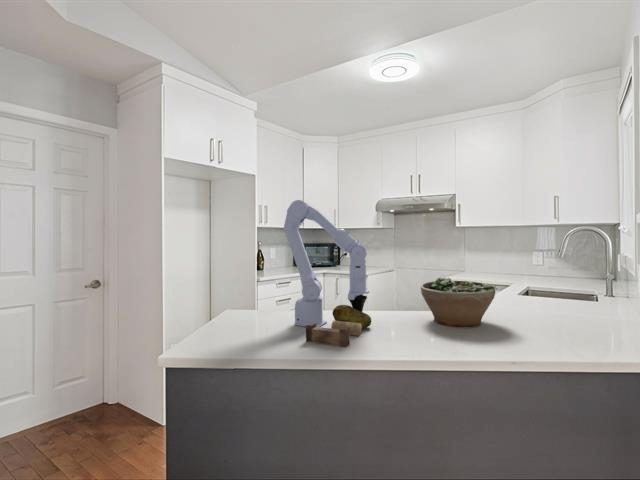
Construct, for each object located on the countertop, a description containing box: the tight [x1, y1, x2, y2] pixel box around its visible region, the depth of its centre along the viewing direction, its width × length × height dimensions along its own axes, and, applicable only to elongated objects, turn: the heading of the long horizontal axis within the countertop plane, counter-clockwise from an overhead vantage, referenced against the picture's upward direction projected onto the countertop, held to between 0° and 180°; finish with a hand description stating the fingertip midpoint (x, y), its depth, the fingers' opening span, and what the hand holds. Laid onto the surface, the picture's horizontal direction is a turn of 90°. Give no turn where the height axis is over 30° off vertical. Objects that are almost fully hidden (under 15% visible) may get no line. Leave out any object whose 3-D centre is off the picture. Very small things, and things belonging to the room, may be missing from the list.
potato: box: [332, 304, 372, 329], centre depth 127 cm, size 8×13×8 cm, turn 76°
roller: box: [330, 320, 362, 337], centre depth 121 cm, size 9×4×4 cm, turn 65°
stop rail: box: [305, 323, 350, 348], centre depth 111 cm, size 13×3×5 cm, turn 65°
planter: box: [420, 277, 499, 329], centre depth 134 cm, size 26×25×15 cm
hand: (357, 316), depth 131 cm, fingers closed
